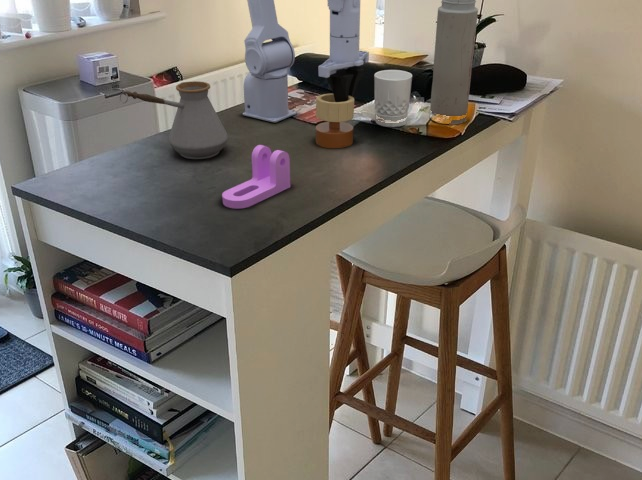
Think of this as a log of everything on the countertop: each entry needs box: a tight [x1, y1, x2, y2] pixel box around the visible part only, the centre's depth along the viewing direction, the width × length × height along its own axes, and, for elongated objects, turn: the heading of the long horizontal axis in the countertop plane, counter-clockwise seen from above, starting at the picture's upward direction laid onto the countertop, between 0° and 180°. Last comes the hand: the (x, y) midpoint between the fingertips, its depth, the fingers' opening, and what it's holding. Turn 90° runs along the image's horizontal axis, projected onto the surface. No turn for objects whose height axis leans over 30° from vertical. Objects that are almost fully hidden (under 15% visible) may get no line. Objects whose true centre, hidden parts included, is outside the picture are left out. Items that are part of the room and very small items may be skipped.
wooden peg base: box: [315, 121, 354, 149], centre depth 151 cm, size 8×8×7 cm
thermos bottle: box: [429, 0, 479, 126], centre depth 156 cm, size 8×8×28 cm
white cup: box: [373, 69, 413, 128], centre depth 160 cm, size 8×8×10 cm
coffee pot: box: [119, 80, 229, 160], centre depth 141 cm, size 21×12×15 cm, turn 136°
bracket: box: [221, 144, 291, 210], centre depth 129 cm, size 13×6×7 cm, turn 141°
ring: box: [315, 92, 355, 123], centre depth 149 cm, size 7×7×4 cm
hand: (343, 106), depth 151 cm, fingers closed on ring
